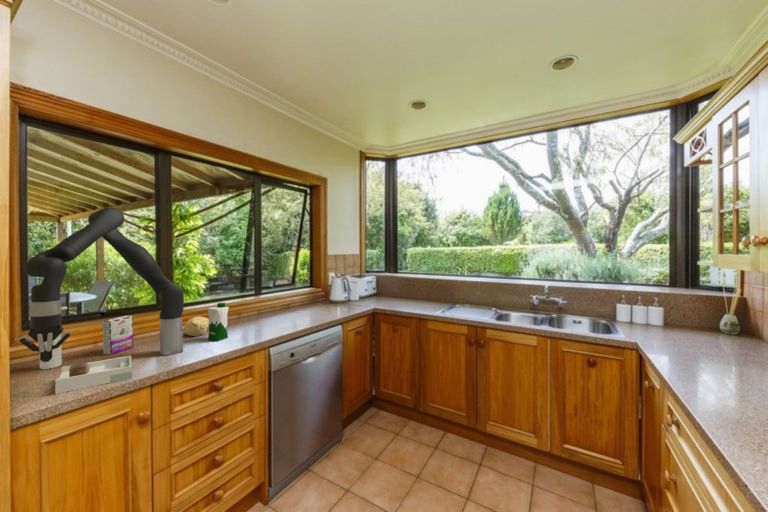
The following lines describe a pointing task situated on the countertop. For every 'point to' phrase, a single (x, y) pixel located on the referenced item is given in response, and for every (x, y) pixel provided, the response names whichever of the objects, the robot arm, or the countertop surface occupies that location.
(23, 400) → the countertop surface
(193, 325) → the sculpture
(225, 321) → the milk carton
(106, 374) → the track
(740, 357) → the countertop surface
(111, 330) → the candy bar box
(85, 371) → the walnut block
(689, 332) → the countertop surface
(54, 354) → the water bottle
